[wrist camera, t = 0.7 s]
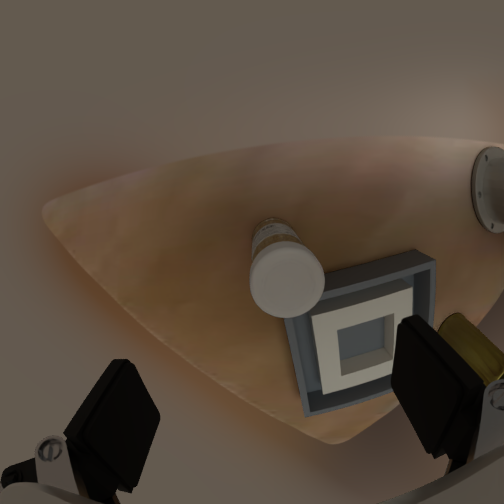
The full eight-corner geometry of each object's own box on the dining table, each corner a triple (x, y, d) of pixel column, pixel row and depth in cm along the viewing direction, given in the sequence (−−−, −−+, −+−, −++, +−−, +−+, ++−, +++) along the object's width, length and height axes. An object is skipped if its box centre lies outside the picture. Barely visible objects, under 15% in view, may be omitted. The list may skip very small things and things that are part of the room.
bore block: (400, 277, 29) (412, 287, 26) (399, 354, 32) (408, 367, 29) (306, 303, 30) (311, 316, 27) (318, 379, 33) (323, 394, 30)
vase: (451, 349, 33) (498, 400, 19) (429, 344, 32) (479, 403, 19) (469, 316, 31) (523, 362, 18) (448, 309, 31) (508, 360, 17)
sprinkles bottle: (260, 265, 29) (264, 330, 16) (245, 225, 28) (237, 264, 15) (300, 250, 29) (334, 305, 16) (287, 210, 28) (314, 236, 15)
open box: (415, 249, 29) (435, 259, 24) (412, 360, 33) (425, 378, 29) (276, 285, 30) (280, 302, 26) (300, 394, 34) (304, 417, 30)
